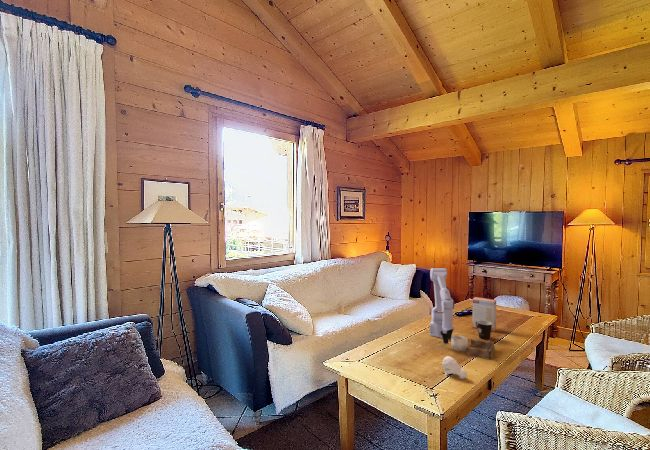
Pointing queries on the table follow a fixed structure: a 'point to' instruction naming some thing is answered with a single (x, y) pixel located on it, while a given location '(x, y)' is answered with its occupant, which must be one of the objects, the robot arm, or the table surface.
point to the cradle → (480, 352)
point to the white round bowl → (459, 343)
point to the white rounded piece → (453, 367)
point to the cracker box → (484, 311)
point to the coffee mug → (484, 329)
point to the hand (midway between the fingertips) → (447, 341)
